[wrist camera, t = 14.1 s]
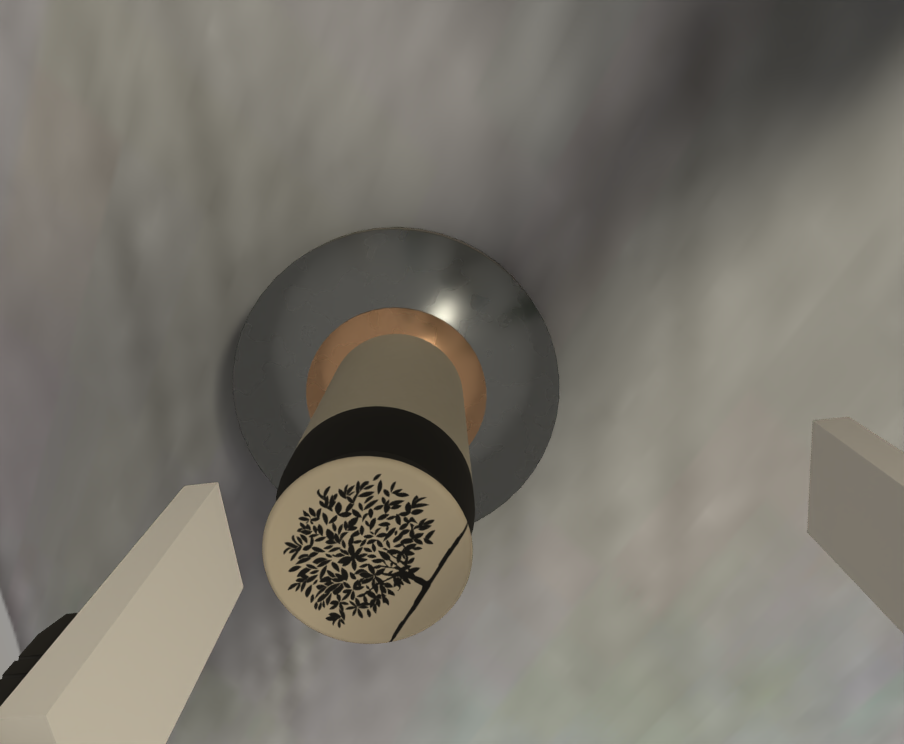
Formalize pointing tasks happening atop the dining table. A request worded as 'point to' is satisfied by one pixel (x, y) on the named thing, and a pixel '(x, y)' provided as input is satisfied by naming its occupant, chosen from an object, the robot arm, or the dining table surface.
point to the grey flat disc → (411, 313)
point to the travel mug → (377, 498)
